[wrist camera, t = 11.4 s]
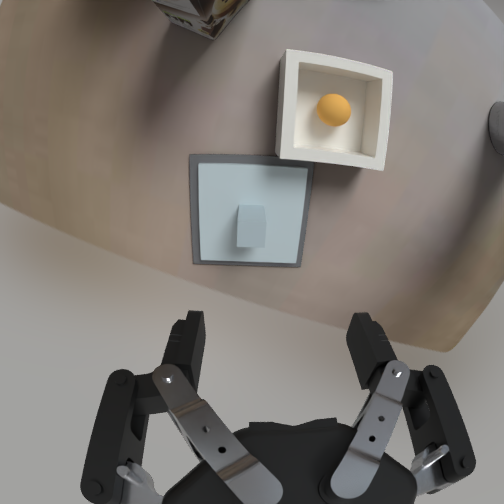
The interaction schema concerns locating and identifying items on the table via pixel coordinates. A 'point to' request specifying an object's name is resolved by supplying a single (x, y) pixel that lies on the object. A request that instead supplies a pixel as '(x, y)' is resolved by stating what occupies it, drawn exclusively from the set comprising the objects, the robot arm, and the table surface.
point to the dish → (317, 132)
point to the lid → (250, 211)
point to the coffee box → (201, 14)
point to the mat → (243, 159)
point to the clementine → (333, 110)
